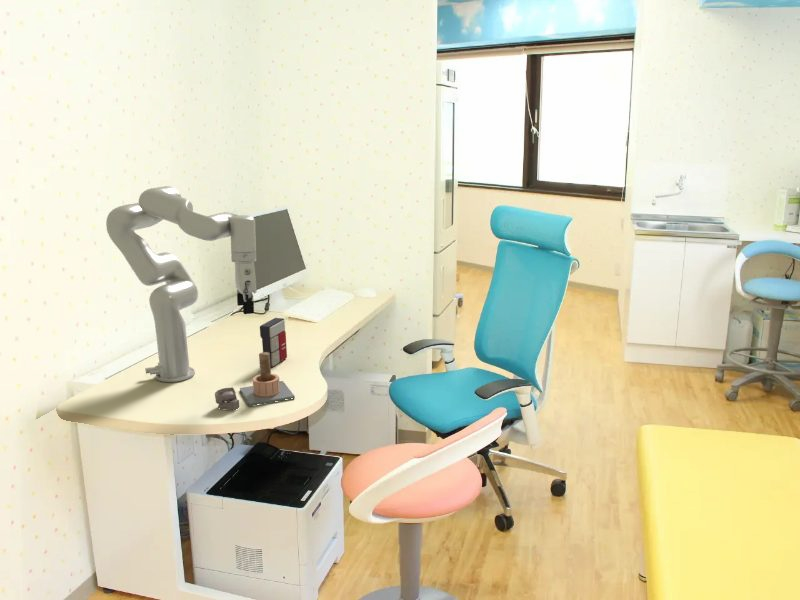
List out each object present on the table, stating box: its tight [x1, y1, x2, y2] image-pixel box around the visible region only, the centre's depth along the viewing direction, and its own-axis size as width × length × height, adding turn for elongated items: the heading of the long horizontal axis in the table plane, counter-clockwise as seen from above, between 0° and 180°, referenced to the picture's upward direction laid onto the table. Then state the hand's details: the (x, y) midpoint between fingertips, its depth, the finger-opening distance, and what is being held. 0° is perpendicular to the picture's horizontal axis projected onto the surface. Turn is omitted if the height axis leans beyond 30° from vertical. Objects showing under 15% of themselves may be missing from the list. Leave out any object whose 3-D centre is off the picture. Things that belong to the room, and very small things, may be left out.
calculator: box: [259, 317, 288, 369], centre depth 250 cm, size 11×4×15 cm, turn 160°
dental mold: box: [214, 386, 240, 411], centre depth 214 cm, size 8×7×5 cm
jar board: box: [239, 373, 296, 407], centre depth 222 cm, size 14×14×6 cm
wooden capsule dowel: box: [258, 351, 272, 382], centre depth 221 cm, size 3×3×12 cm
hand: (245, 309), depth 223 cm, fingers open, 9 cm apart
